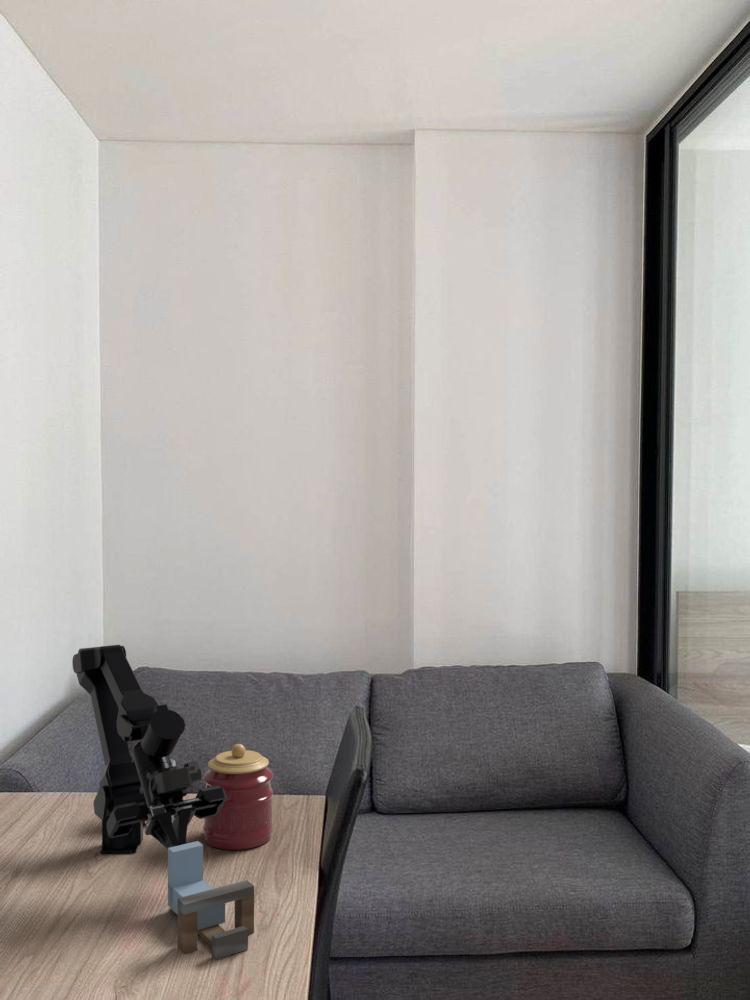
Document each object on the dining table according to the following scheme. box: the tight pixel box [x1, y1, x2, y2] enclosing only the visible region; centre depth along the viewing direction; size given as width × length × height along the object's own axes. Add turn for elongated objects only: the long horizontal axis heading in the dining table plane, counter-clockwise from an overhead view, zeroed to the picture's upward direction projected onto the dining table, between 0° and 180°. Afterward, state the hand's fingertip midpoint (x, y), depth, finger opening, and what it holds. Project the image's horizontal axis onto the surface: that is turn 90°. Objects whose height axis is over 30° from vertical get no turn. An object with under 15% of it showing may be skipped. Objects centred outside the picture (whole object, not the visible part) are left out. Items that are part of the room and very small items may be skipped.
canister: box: [202, 743, 274, 851], centre depth 173 cm, size 13×13×18 cm
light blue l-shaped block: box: [167, 840, 226, 930], centre depth 141 cm, size 10×5×9 cm, turn 34°
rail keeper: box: [177, 879, 255, 960], centre depth 138 cm, size 18×11×7 cm, turn 34°
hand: (182, 860), depth 145 cm, fingers closed, pressing on light blue l-shaped block
